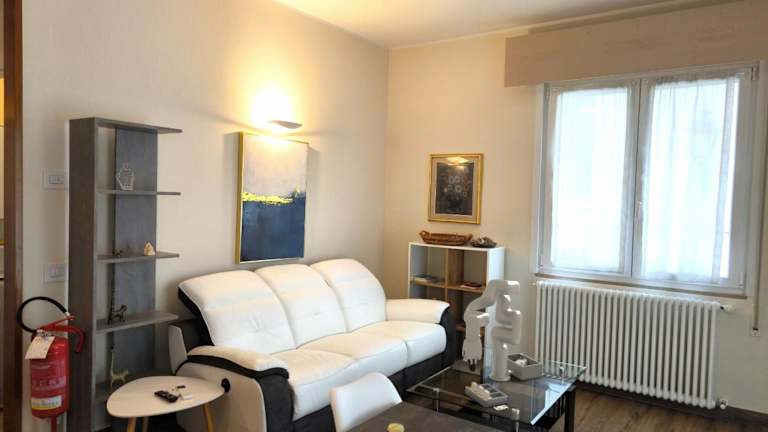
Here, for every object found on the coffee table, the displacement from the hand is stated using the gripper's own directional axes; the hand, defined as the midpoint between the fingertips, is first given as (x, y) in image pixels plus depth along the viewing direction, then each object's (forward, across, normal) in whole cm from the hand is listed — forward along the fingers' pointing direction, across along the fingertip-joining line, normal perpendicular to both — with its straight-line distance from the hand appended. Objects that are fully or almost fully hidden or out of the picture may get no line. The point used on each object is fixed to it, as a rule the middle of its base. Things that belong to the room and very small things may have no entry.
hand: (472, 370), depth 289 cm
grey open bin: (+16, -52, -25) cm, 60 cm away
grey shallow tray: (+17, -10, 0) cm, 19 cm away
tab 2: (+15, -6, 0) cm, 16 cm away
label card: (+17, -10, +14) cm, 24 cm away
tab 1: (+15, -6, -6) cm, 17 cm away
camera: (+16, -52, -25) cm, 60 cm away
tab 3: (+15, -6, +6) cm, 17 cm away
